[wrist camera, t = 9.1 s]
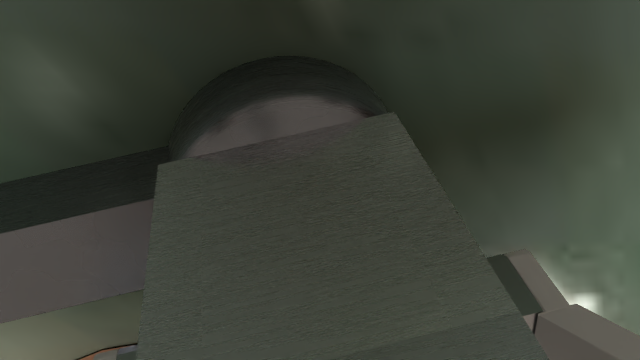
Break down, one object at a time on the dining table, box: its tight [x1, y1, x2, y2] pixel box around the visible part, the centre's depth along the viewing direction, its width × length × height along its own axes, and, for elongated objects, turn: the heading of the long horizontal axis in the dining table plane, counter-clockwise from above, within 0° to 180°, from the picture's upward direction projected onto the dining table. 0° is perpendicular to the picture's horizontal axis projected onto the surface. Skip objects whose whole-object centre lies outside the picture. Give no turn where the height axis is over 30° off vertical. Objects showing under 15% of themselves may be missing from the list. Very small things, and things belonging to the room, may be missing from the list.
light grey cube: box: [136, 112, 549, 360], centre depth 11 cm, size 6×6×7 cm
